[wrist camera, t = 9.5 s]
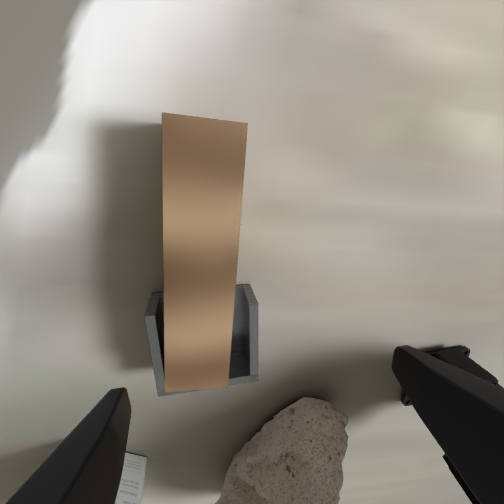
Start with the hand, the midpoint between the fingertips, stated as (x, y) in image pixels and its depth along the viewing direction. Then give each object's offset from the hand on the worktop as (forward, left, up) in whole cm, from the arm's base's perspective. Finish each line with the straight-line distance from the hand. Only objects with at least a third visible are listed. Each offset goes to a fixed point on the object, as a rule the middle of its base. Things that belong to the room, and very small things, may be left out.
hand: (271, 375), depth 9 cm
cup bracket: (-6, +2, -12) cm, 13 cm away
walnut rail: (0, +2, -11) cm, 12 cm away
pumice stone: (-20, -4, -12) cm, 24 cm away
